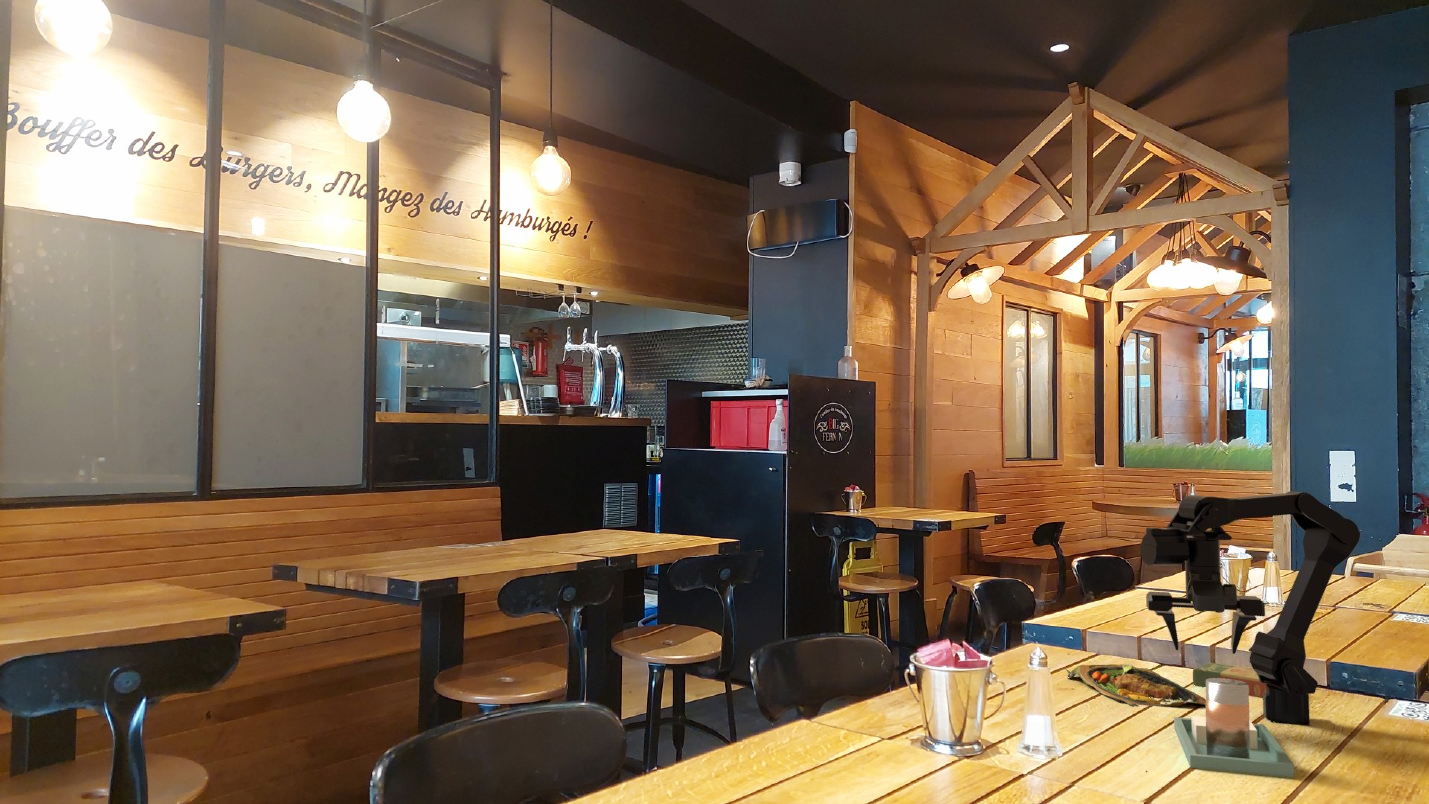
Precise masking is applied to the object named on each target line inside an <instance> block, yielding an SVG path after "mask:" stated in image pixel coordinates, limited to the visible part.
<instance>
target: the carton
mask: <svg viewBox="0 0 1429 804" xmlns="http://www.w3.org/2000/svg"><path fill="white" fill-rule="evenodd" d="M1209 678H1225V679H1233V680H1238V681H1242V682H1245V683H1247V684H1248V685H1249V697H1253V698H1260V699H1263V693H1266V684H1265V683H1261V682H1260V680H1259V677H1258V674H1257V673H1256V672H1255V671H1254V669H1253V668H1247V667H1241V666H1234V665H1229V664H1227V665H1226V664H1223V663H1222V664H1220V663H1216V662H1215V663H1214V662H1207V663H1204V664H1202V665H1199V666H1197V667H1194V668H1193V669H1192V681H1193V682H1192V683H1193V686H1194V685H1195V686H1194V687H1199V688H1204V687H1206V679H1209Z"/></svg>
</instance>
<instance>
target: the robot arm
mask: <svg viewBox="0 0 1429 804" xmlns="http://www.w3.org/2000/svg"><path fill="white" fill-rule="evenodd" d="M1285 515H1290V516H1291V518H1292V519H1293V521H1294V523H1295V524H1296V526H1298V527H1299V528H1300V529H1301V530H1302V531H1303V532H1304V535H1303V540H1302V545H1303V552H1304V553H1303V554H1304V558H1303V561H1302V564H1301V565H1300V568H1299V570H1298V572H1297V574H1296V577H1295V579H1294V582H1293V585H1292V586H1291V588H1290V591H1289V593H1288V596H1287V597H1286V600H1285V602H1284V605H1283V606H1282V609H1281V611H1280V614H1279V616H1278V618H1277V620H1276V622H1275V625H1274V626H1273V628H1272V629H1270V630H1269V631H1268V632H1267V633H1266V632H1263V631H1257V633H1256V635H1255V637H1254V642H1253V644H1252V646H1251V647H1249V649H1248V652H1250V656H1249V663H1250V665H1251V669H1254V671H1255V672H1256V673H1257V674H1258V677H1259V680H1260V682H1261V683H1265V684H1266V693H1263V698H1262V709H1263V711H1262V712H1263V716H1264V717H1265V719H1266V720H1268V721H1270V723H1272V724H1280V725H1281V724H1283V725H1292V726H1305V727H1313V724H1312V723H1311V721H1310V720H1311V719H1310V695H1311V694H1315V693H1316V690H1317V688H1318V683H1319V682H1318V681H1317V680H1316V679H1315V678H1314V677H1313V676H1312V675H1311V674H1310V673H1309V672H1308V671H1307V670H1306V669H1305V667H1304V666H1305V664H1306V659H1307V658H1306V657H1307V655H1306V647H1305V639H1306V635H1307V633H1308V630H1309V629H1310V627H1311V623H1312V622H1313V619H1314V617H1315V614H1316V612H1317V610H1318V608H1319V605H1320V603H1321V600H1322V599H1323V596H1324V594H1325V592H1326V589H1327V586H1328V585H1329V582H1330V580H1331V579H1332V576H1333V574H1334V570H1335V569H1336V568H1337V567H1338V566H1339V565H1341V564H1342V563H1343V562H1344V561H1346V560H1347V559H1348V558H1349V557H1351V554H1352V553H1353V552H1354V550H1355V548H1356V547H1357V546H1358V544H1359V542H1360V540H1361V531H1360V529H1359V527H1358V525H1357V524H1356V522H1355V521H1353V520H1352V519H1349V518H1345V517H1344V516H1343V515H1342V514H1340V512H1337V511H1336V510H1334V509H1332V508H1330V507H1329V506H1327V505H1326V504H1324V503H1322V502H1321V501H1320V500H1318V499H1317V498H1316V497H1314V495H1312V494H1310V493H1309V492H1304V491H1303V492H1302V491H1291V490H1290V491H1288V492H1284V493H1273V494H1263V495H1261V494H1259V495H1252V496H1238V497H1230V498H1227V497H1217V496H1208V495H1196V494H1189V495H1186V496H1185V497H1183V498H1182V500H1180V503H1179V505H1178V510H1177V512H1176V513H1175V515H1173V517H1172V518H1171V521H1169V522H1168V524H1167V526H1166V528H1165V527H1163V528H1160V527H1153V526H1152V527H1146V529H1145V532H1146V533H1145V535H1143V537H1142V540H1141V544H1139V545H1140V546H1139V547H1140V549H1139V551H1140V557H1141V558H1142V561H1143V563H1144V564H1146V565H1147V566H1181V565H1183V564H1184V569H1185V571H1184V572H1185V596H1183V597H1182V596H1181V597H1179V596H1178V597H1177V596H1173V595H1171V593H1170V592H1168V591H1165V592H1164V591H1148V592H1147V593H1146V595H1145V600H1146V608H1147V610H1148V611H1152V612H1154V613H1155V614H1156V616H1158V617H1162V618H1163V621H1164V623H1165V624H1166V627H1167V629H1168V630H1167V631H1168V633H1169V635H1170V637H1171V641H1172V644H1173V646H1174V650H1175V651H1179V639H1178V638H1179V637H1178V632H1177V626H1176V616H1175V615H1176V614H1175V612H1174V611H1173V608H1182V609H1183V608H1184V609H1186V608H1187V609H1193V610H1195V612H1199V613H1204V612H1215V613H1217V614H1219V613H1220V614H1221V613H1223V612H1225V611H1233V612H1232V619H1231V620H1232V622H1231V623H1232V624H1231V638H1230V639H1231V640H1230V646H1231V647H1230V649H1231V654H1232V655H1235V654H1236V653H1237V650H1238V647H1239V644H1240V641H1241V638H1242V636H1243V633H1244V631H1245V629H1246V627H1247V626H1248V625H1249V624H1250V622H1251V621H1253V622H1254V621H1257V617H1266V607H1265V602H1264V601H1263V600H1262V599H1260V598H1259V597H1258V596H1256V595H1254V596H1253V595H1237V594H1238V593H1237V592H1238V591H1237V586H1236V584H1233V583H1222V581H1221V580H1222V577H1221V576H1222V575H1221V545H1220V542H1221V541H1231V540H1232V539H1233V537H1232V536H1231V535H1230V534H1229V533H1227V532H1226V531H1225V530H1224V528H1223V526H1227V525H1231V524H1232V523H1234V522H1236V521H1240V520H1243V519H1253V518H1254V519H1255V518H1264V517H1275V516H1276V517H1277V516H1285Z"/></svg>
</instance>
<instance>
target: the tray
mask: <svg viewBox="0 0 1429 804" xmlns="http://www.w3.org/2000/svg"><path fill="white" fill-rule="evenodd" d="M1252 724H1253V725H1254V727H1255V728H1256V730H1257V744H1258V749H1250V748H1249V756H1250V759H1245V758H1234V757H1223V756H1213V755H1207V747H1206V744H1197V743H1196V741H1195V739H1194V737H1193V735H1192V720H1191V717H1190V718H1188V717H1177V716H1174V717H1173V727H1174V728H1173V729H1174V731H1175V734H1176V736H1177V738H1178V741H1179V743H1180V746H1181V748H1182V751H1183V754H1184V755H1185V758H1186V761H1187V762H1188V764H1189V768H1190V769H1197V770H1207V771H1217V772H1218V771H1219V772H1227V773H1235V774H1246V775H1247V774H1248V775H1258V776H1265V777H1268V776H1269V777H1276V778H1277V777H1278V778H1287V779H1295V765H1294V763H1293V762H1292V760H1291V758H1289V757H1288V755H1287V754H1286V752H1285V751H1284V750H1283V748H1282V747H1281V746H1280V744H1279V742H1278V741H1277V740H1276V739H1275V737H1274V736H1273V735H1272V733H1271V731H1270V730H1269V729H1268V728H1267V727H1266V725H1265V724H1262V723H1252Z"/></svg>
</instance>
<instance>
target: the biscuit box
mask: <svg viewBox="0 0 1429 804" xmlns="http://www.w3.org/2000/svg"><path fill="white" fill-rule="evenodd" d="M1190 718H1191V720H1192V735H1193V737H1194V739H1195V741H1196V743H1197V744H1206V716H1199V715H1191V717H1190ZM1253 724H1254V723H1252V720H1249V729H1250V745H1249V748H1250V749H1258V744H1257V730H1256V728H1255V727H1254V725H1253Z"/></svg>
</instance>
